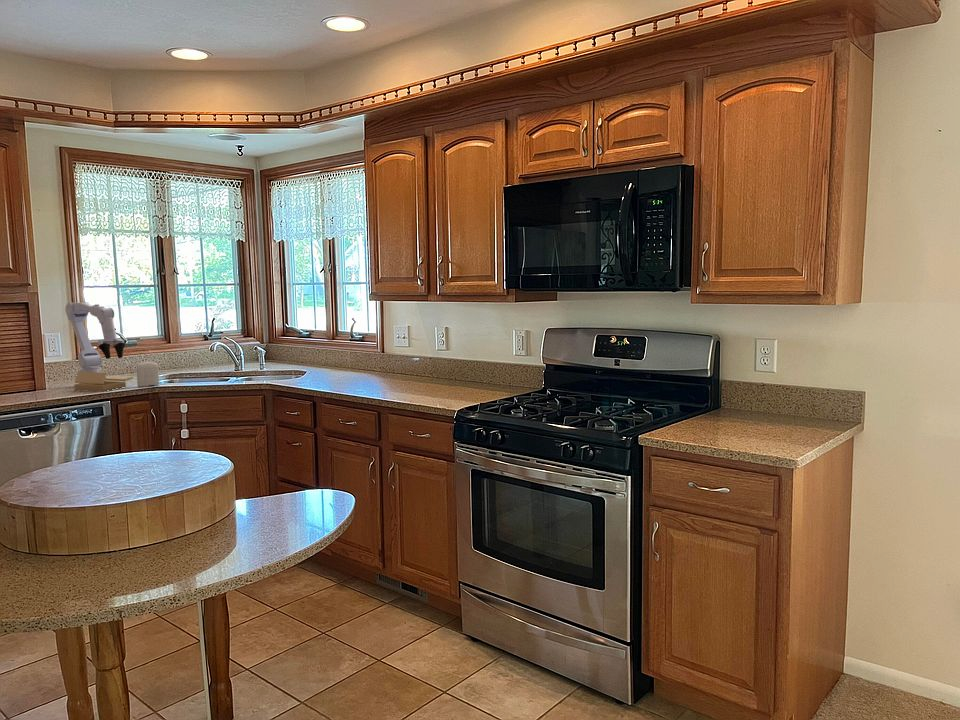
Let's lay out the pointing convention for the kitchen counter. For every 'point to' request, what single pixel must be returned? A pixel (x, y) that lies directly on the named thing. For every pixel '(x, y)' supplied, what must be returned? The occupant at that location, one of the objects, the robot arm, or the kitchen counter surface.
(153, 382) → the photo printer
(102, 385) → the carton
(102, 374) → the front flap
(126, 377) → the back flap
